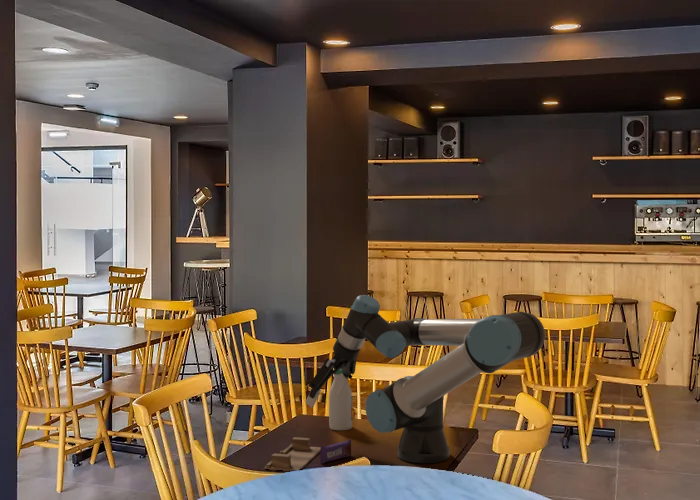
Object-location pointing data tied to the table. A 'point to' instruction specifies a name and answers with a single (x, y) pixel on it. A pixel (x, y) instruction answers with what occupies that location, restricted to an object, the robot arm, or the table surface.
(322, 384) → the robot arm
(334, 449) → the snack package
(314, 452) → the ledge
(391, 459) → the table surface
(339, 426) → the milk bottle
